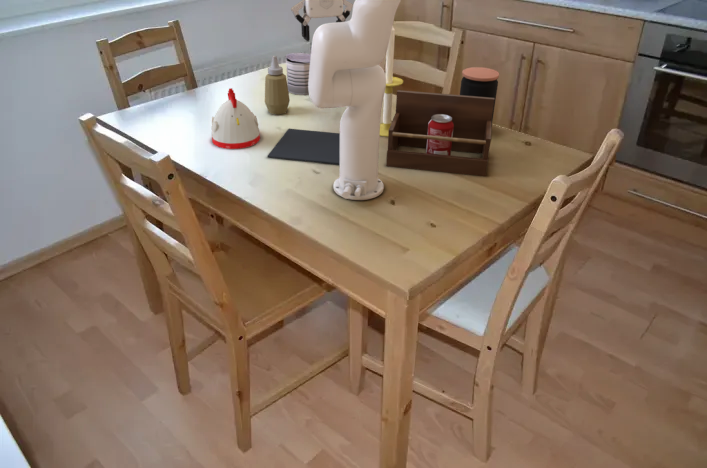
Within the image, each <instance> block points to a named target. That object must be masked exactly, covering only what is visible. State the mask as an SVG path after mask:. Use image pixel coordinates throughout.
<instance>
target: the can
mask: <svg viewBox="0 0 707 468" xmlns="http://www.w3.org/2000/svg"><path fill="white" fill-rule="evenodd" d="M284 58H285V65H286V79H287V86H288V92H289V94H293V95H296V96H297V95H299V96H307V95H308V96H309V91H308V80H309V69H310V58H311V53H304V52H291V53H287V54H286V55H285V56H284Z"/></svg>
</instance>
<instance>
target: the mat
mask: <svg viewBox="0 0 707 468" xmlns="http://www.w3.org/2000/svg"><path fill="white" fill-rule="evenodd" d="M267 158H268V159H277V160H287V161H295V162H305V163H316V164H324V165H334V166H340V132H331V131H330V132H329V131H318V130H310V129H309V130H308V129H299V128H298V129H297V128H288V129H287V130H286V131H285V133H284V134H283V135H282V136H281V138H280V139H279V140H278V142H277V143H276V144H275V146H274V147H273V148H272V149H271V151H270V152H269V153H268V154H267Z"/></svg>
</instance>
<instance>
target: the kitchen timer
mask: <svg viewBox="0 0 707 468" xmlns="http://www.w3.org/2000/svg"><path fill="white" fill-rule="evenodd" d="M227 98H228V100H226V101H225V102H223V103H222V104H221V105H220V106H219V108H218V109H217V110H216V112H215V114H214V116H212V117H211V125H210V126H211V127H210V128H211V141H212V144H213V145H214V146H215V147H218V148H222V149H226V150H227V149H228V150H241V149H246V148H250V147H252V146H254V145H256V144H258V143H259V142H260V140H261V133H260V127H259V122H258V119H257V115H255V114H254V112H253V111H252V110H251V109H250V107H248V106H247V105H246V103H244V102H242V101H240V100H238V99H237V98H236V92H234V89H233V87H232V88H231V87H230V88H228V90H227Z"/></svg>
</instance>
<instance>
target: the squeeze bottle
mask: <svg viewBox="0 0 707 468" xmlns="http://www.w3.org/2000/svg"><path fill="white" fill-rule="evenodd" d="M270 65H271V66H268V67H267V74H266V75H265V79H264V80H265V81H264V82H265V83H264V103H265V104H264V105H265V106H266V109H267V111H268V113H269V114H270V115H284V114H286V113H287V112H288V108H289V105H290V100H291V99H290V92H289V91H288V86H287V74H285V73H284V68H283V66H280V64H279V61H278V57H277V55H273V56H272V59H271V64H270Z"/></svg>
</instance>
